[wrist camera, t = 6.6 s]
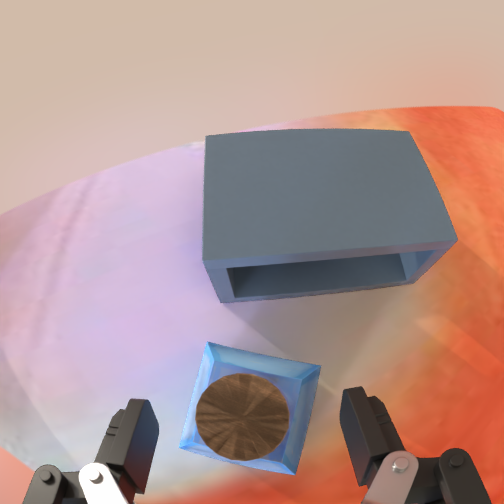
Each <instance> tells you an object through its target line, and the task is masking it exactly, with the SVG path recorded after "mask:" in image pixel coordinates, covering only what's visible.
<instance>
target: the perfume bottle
mask: <svg viewBox="0 0 504 504" xmlns="http://www.w3.org/2000/svg"><path fill="white" fill-rule="evenodd" d="M320 369H321V366H320V365H314V364H309V363H303V362H298V361H292V360H287V359H282V358H277V357H272V356H267V355H262V354H258V353H253V352H249V351H244V350H240V349H235V348H231V347H227V346H223V345H219V344H215V343H211V342H207V344H206V347H205V351H204V355H203V358H202V362H201V366H200V369H199V373H198V377H197V380H196V384H195V388H194V392H193V395H192V399H191V403H190V407H189V410H188V414H187V418H186V422H185V426H184V430H183V433H182V437H181V441H180V445H179V448H181V449H184V450H187V451H190V452H194V453H197V454H200V455H204V456H207V457H211V458H214V459H218V460H222V461H226V462H230V463H234V464H238V465H243V466H247V467H252V468H257V469H262V470H267V471H273V472H278V473H285V474H291V475H295V474H296V471H297V467H298V464H299V460H300V456H301V452H302V448H303V445H304V441H305V437H306V433H307V428H308V424H309V420H310V416H311V411H312V407H313V402H314V398H315V393H316V388H317V384H318V379H319V374H320Z"/></svg>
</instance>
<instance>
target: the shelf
mask: <svg viewBox="0 0 504 504" xmlns="http://www.w3.org/2000/svg"><path fill="white" fill-rule="evenodd" d="M457 241H458V238H457V235H456V233H455V230H454V227H453V225H452V222H451V220H450V217H449V215H448V212H447V210H446V207H445V205H444V202H443V200H442V198H441V195H440V193H439V191H438V189H437V186H436V184H435V182H434V180H433V178H432V176H431V173H430V171H429V169H428V167H427V165H426V163H425V161H424V159H423V157H422V155H421V153H420V151H419V149H418V147H417V146H416V144H415V142H414V140H413V138H412V136H411V134H410V133H409V132H408V131H394V130H374V129H289V130H268V131H253V132H240V133H229V134H219V135H209V136H205V156H204V184H203V233H202V261H203V263H204V266H205V268H206V270H207V273H208V275H209V277H210V280H211V282H212V284H213V287H214V289H215V291H216V293H217V296H218V298H219V300H220V302H221V303H229V302H243V301H256V300H269V299H280V298H292V297H302V296H312V295H322V294H332V293H341V292H350V291H358V290H367V289H375V288H383V287H391V286H398V285H406V284H413V283H415V282H416V281H417V280H418V279H419V278H420V277H421V276H422V275H423V274H424V273H425V272H426V271H427V270H428V269H429V268H430V267H431V266H432V265H433V264H434V263H436V262H437V261H438V260H439V259H440V258H441V257H442V256H443V255H444V254H445V253H446V252H447V251H448V250H449V249H450V248H451V247H452V246H453V245H454V244H455V243H456V242H457Z"/></svg>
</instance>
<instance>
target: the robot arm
mask: <svg viewBox="0 0 504 504" xmlns="http://www.w3.org/2000/svg"><path fill="white" fill-rule="evenodd" d="M340 424H341V428H342V431H343V434H344V438H345V441H346V444H347V448H348V451H349V454H350V458H351V461H352V465H353V468H354V471H355V475H356V478H357V482H358V485H359V486H363V485H367V487H368V492H367V494H366V495H365V497H364V499H363V501H362V502H361V504H492V503H491V500H490V498H489V496H488V494H487V491H486V489H485V487H484V485H483V482H482V480H481V478H480V476H479V474H478V472H477V469H476V467H475V465H474V463H473V461H472V459H471V457H470V455H469V454H468V453H467V452H466V451H464V450H463V449H459V448H452V449H449V450H447V451H445V452H444V453H443V454H442V455H441V457H435V458H418V457H415V456H414V455H413V454H412V453H410V452H407V451H406V450H405V448H404V446H403V444H402V442H401V440H400V437H399V435H398V433H397V431H396V429H395V427H394V424H393V422H391V418H390V416H389V414H388V412H387V410H386V407H385V405H384V403H383V402H382V401H380V400H379V399H378V398H377V397H376V396H372V397H367V395H366V393H365V391H364V389H363V387H362V386H360V387H355V388H349V389H344V390H343V396H342V402H341V409H340ZM158 436H159V424H158V421H157V419H156V416H155V414H154V411H153V409H152V406H151V404H150V402H149V400H145V399H130V400H129V402H128V405H127V407H126V410H123V409H120V410H119V411H118V412H117V413H116V414H115V415H114V416H113V417H112V419H111V422H110V424H109V428H108V429H107V431H106V435H105V436H104V439H103V441H102V444H101V446H100V449H99V451H98V454H97V456H96V459H95V461H94V463H91V464H88V465H86V466H84V467H83V468H82V469H81V471H79V472H61V471H60V470H59V469H58V468H57V467H55V466H53V465H43V466H41V467H39V468H38V469H37V470H36V471H35V473H34V476H33V478H32V481H31V483H30V486H29V488H28V491H27V493H26V496H25V498H24V501H23V504H136V503H135V501H134V496H135V493H138V494H144V493H145V488H146V484H147V480H148V476H149V472H150V468H151V463H152V459H153V455H154V452H155V448H156V444H157V440H158Z"/></svg>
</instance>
